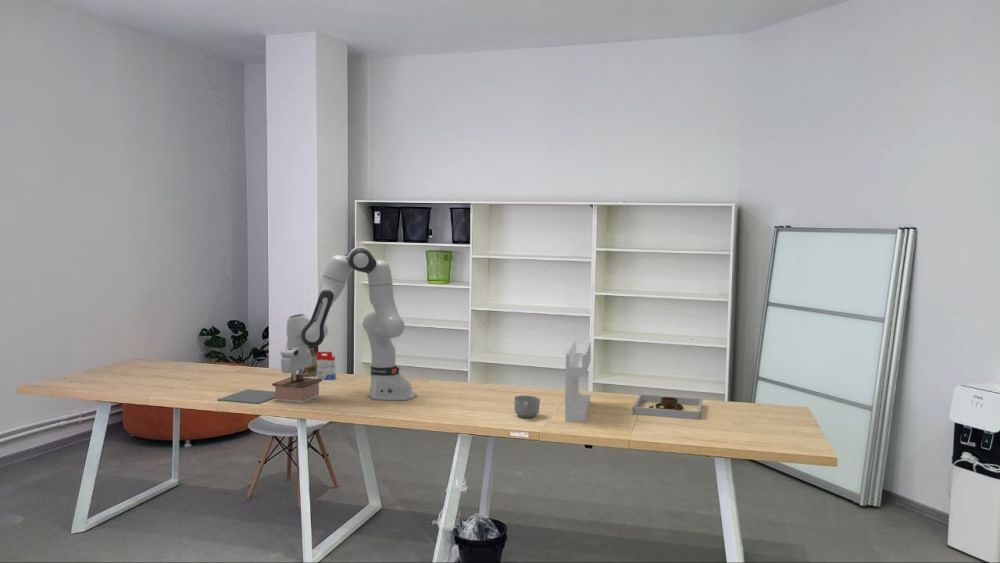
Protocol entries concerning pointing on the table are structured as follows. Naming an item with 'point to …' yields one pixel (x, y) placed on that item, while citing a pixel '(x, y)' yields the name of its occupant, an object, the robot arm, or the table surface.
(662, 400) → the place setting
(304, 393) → the salmon open box
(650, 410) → the grey tray frame
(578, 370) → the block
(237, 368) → the table surface
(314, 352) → the coffee box
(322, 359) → the ink box
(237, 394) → the rubber mat
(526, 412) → the teacup
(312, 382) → the walnut lid
